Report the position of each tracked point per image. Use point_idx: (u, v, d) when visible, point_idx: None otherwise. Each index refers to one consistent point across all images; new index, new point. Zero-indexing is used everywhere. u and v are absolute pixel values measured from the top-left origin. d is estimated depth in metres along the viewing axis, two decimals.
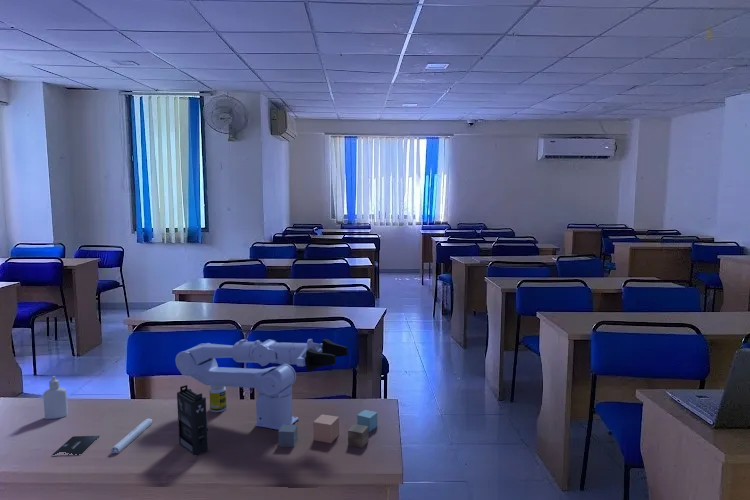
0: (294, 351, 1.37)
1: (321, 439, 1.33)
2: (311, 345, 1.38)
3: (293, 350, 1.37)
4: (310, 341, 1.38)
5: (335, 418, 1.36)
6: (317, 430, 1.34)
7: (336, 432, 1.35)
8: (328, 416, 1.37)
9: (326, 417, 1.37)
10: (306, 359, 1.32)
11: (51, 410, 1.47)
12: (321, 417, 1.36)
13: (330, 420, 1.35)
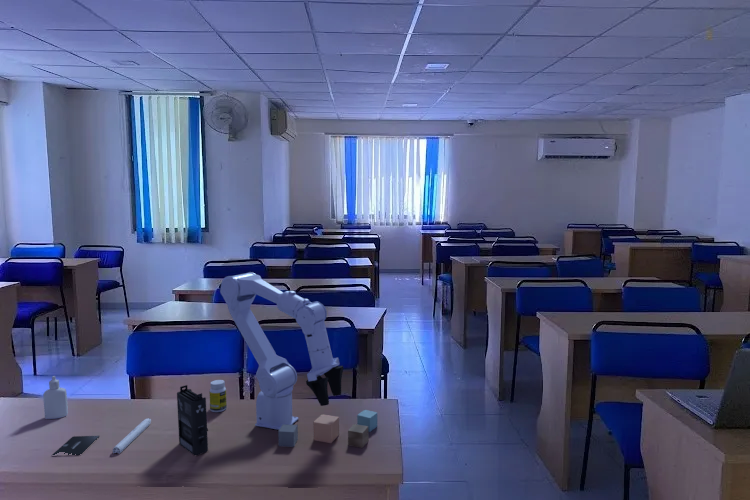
0: (320, 355, 1.32)
1: (321, 439, 1.33)
2: None
3: (321, 353, 1.32)
4: None
5: (335, 418, 1.36)
6: (317, 430, 1.33)
7: (336, 432, 1.35)
8: (328, 416, 1.37)
9: (326, 417, 1.37)
10: (316, 381, 1.29)
11: (51, 410, 1.47)
12: (321, 417, 1.36)
13: (330, 420, 1.35)
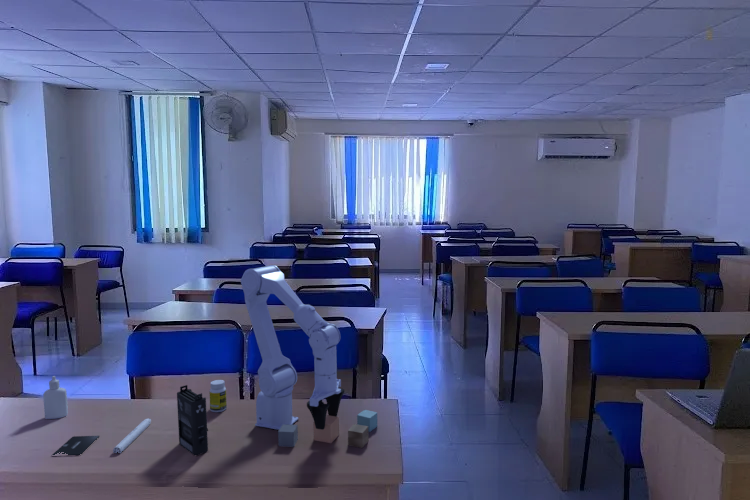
0: (326, 380, 1.31)
1: (321, 439, 1.33)
2: None
3: (327, 379, 1.31)
4: None
5: (335, 418, 1.36)
6: (317, 430, 1.33)
7: (336, 432, 1.35)
8: (328, 416, 1.37)
9: (326, 417, 1.37)
10: (317, 406, 1.29)
11: (51, 410, 1.47)
12: None
13: (330, 420, 1.35)
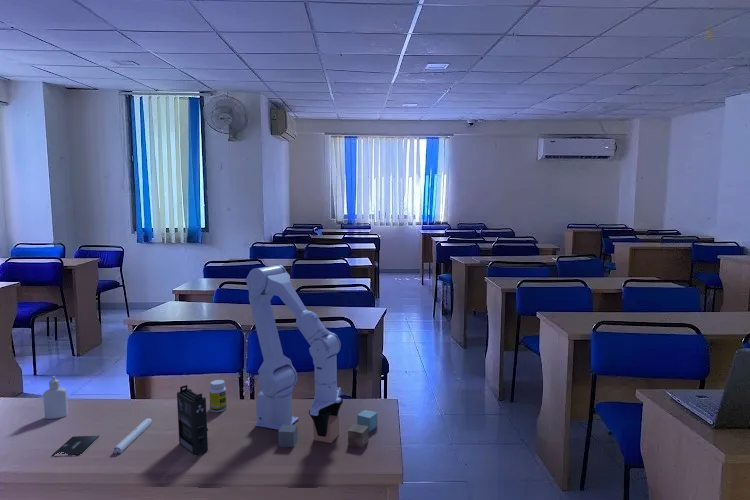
0: (326, 389, 1.31)
1: (321, 439, 1.33)
2: None
3: (327, 388, 1.31)
4: None
5: (335, 418, 1.36)
6: None
7: (336, 432, 1.35)
8: None
9: None
10: (319, 413, 1.30)
11: (51, 410, 1.47)
12: None
13: (330, 419, 1.35)
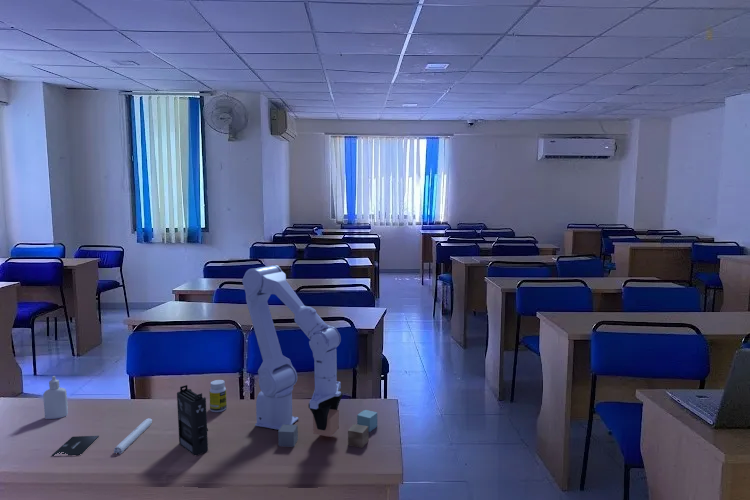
0: (326, 383, 1.31)
1: (321, 432, 1.33)
2: None
3: (327, 381, 1.31)
4: None
5: (335, 411, 1.36)
6: None
7: (336, 425, 1.35)
8: None
9: None
10: (318, 407, 1.30)
11: (51, 410, 1.47)
12: None
13: (329, 413, 1.34)
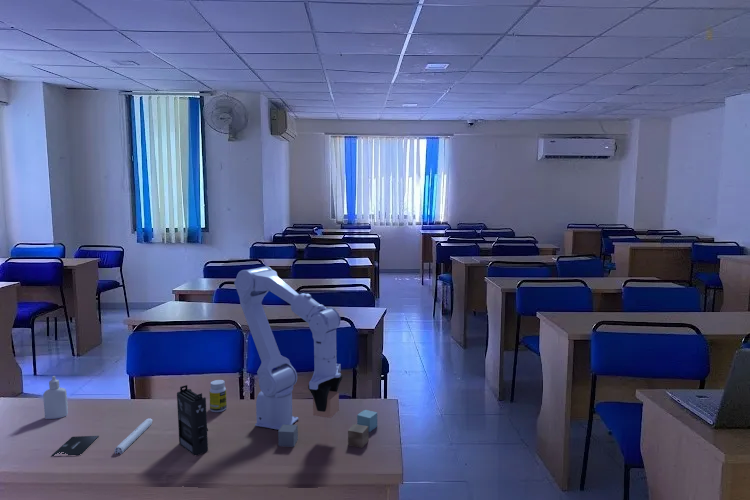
0: (325, 364, 1.31)
1: (321, 414, 1.33)
2: None
3: (326, 362, 1.31)
4: None
5: (335, 393, 1.35)
6: None
7: (336, 407, 1.35)
8: None
9: None
10: (318, 388, 1.29)
11: (51, 410, 1.47)
12: None
13: (329, 395, 1.34)
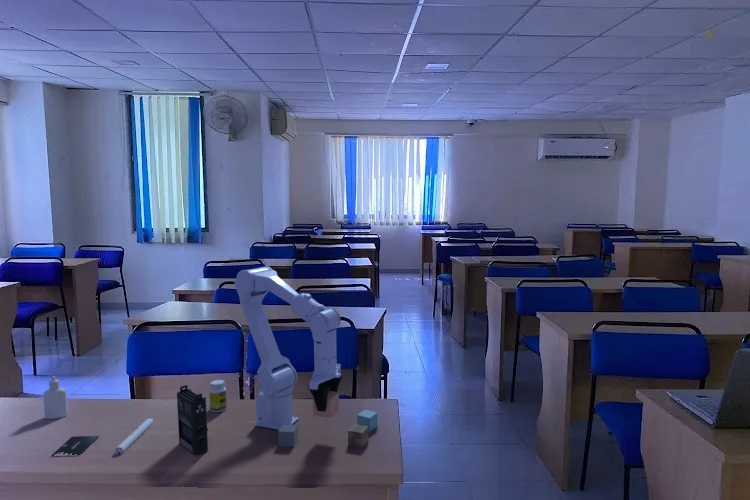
0: (325, 364, 1.31)
1: (321, 414, 1.33)
2: None
3: (326, 362, 1.31)
4: None
5: (335, 393, 1.35)
6: None
7: (336, 407, 1.35)
8: None
9: None
10: (318, 388, 1.29)
11: (51, 410, 1.47)
12: None
13: (329, 395, 1.34)
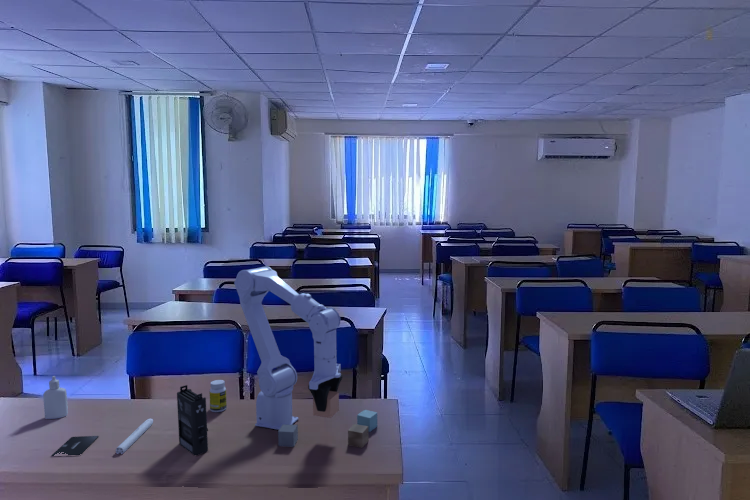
0: (325, 364, 1.31)
1: (321, 414, 1.33)
2: None
3: (326, 362, 1.31)
4: None
5: (335, 393, 1.35)
6: None
7: (336, 407, 1.35)
8: None
9: None
10: (318, 388, 1.29)
11: (51, 410, 1.47)
12: None
13: (329, 395, 1.34)
